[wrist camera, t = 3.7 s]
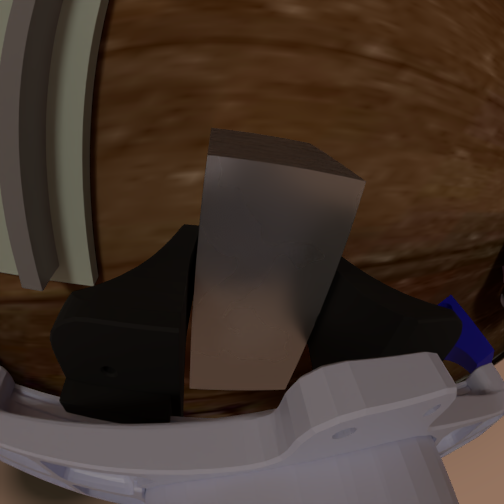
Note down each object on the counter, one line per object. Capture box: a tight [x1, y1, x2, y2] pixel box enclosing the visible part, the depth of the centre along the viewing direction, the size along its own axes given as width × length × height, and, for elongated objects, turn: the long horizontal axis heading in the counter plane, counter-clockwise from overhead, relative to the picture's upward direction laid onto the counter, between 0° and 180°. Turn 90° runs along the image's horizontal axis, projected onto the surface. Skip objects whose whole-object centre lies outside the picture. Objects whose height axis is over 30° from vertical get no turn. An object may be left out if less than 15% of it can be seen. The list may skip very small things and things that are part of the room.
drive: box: [190, 128, 366, 390], centre depth 11 cm, size 9×4×5 cm, turn 170°
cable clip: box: [438, 295, 494, 374], centre depth 18 cm, size 12×4×6 cm, turn 125°
